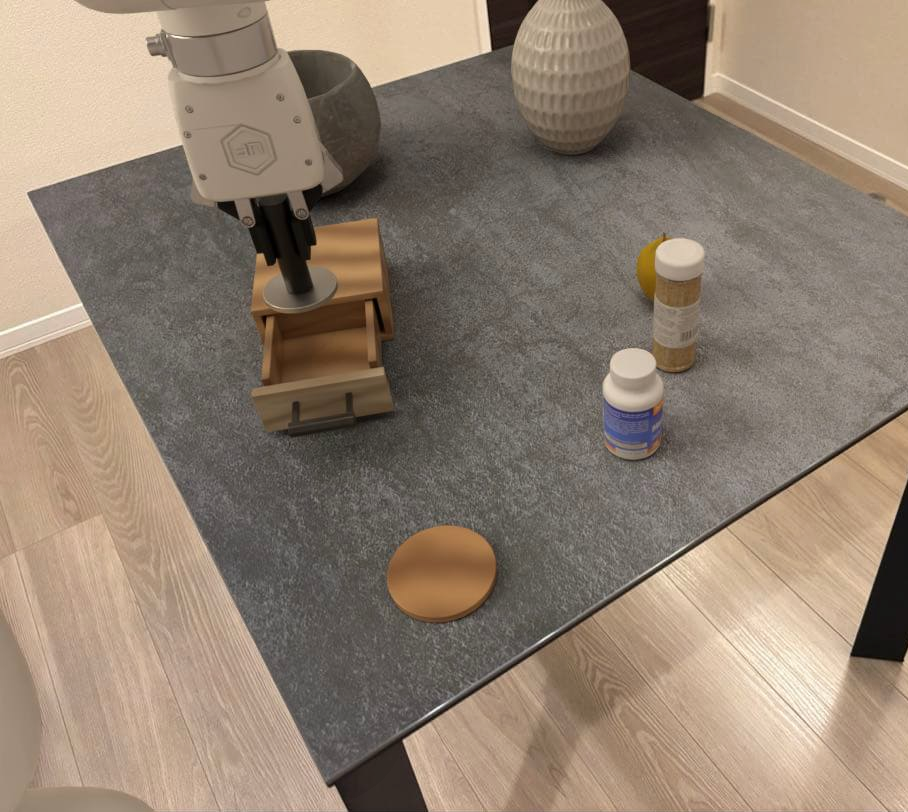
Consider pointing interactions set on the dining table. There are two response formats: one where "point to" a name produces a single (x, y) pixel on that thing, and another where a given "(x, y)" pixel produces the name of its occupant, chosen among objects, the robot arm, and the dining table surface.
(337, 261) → the cabinet
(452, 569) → the disc
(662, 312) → the sprinkles bottle
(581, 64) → the vase
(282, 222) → the rod on disc base
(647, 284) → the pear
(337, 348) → the drawer
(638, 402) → the pill bottle
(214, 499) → the dining table surface
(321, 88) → the bowl
